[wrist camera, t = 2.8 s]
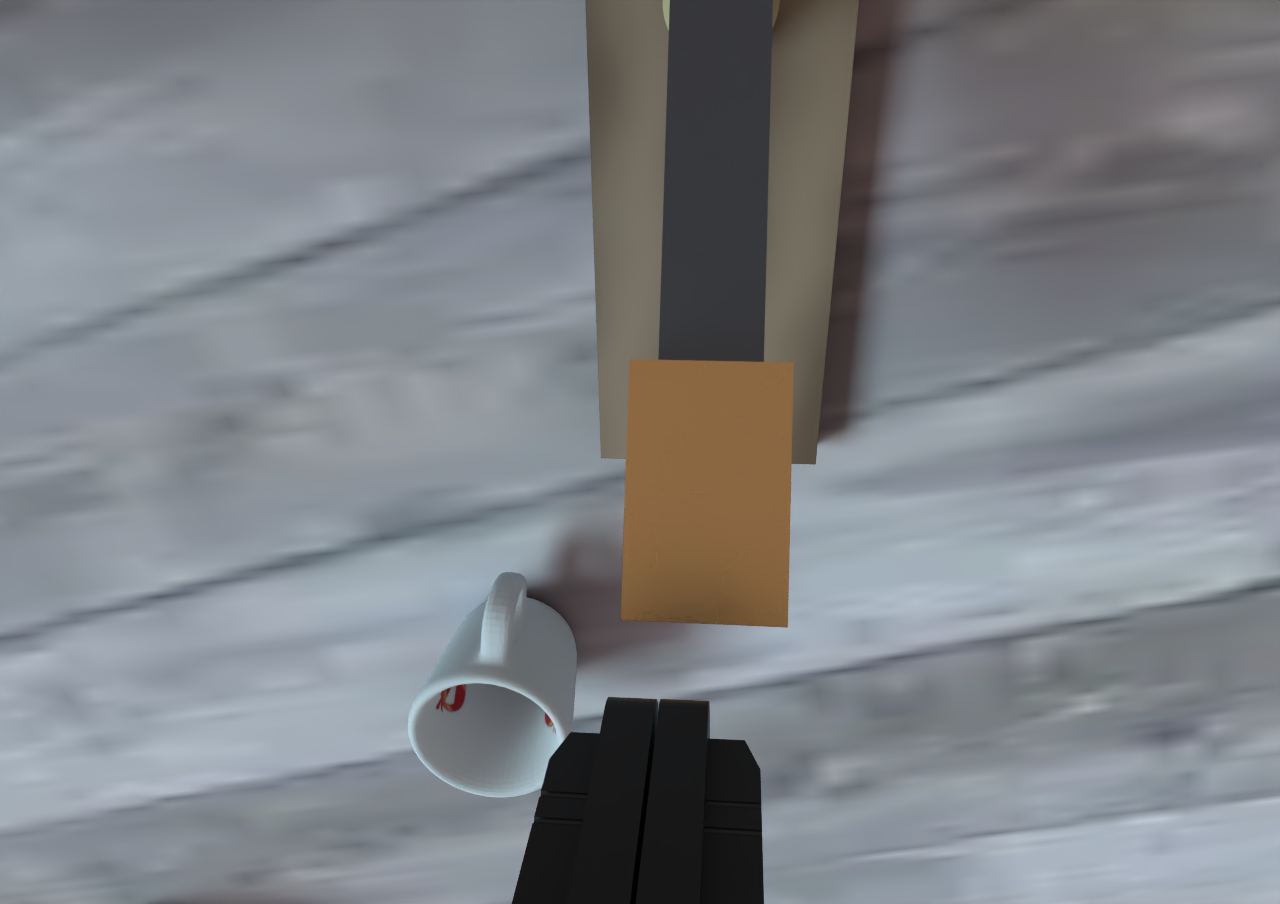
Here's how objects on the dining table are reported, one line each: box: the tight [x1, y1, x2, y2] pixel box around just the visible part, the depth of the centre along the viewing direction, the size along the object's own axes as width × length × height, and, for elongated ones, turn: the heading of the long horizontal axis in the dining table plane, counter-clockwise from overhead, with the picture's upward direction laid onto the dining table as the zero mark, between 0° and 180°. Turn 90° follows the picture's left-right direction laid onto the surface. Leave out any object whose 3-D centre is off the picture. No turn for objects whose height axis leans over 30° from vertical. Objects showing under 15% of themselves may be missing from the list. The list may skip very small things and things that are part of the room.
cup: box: [408, 572, 577, 797], centre depth 44 cm, size 11×8×8 cm
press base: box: [586, 0, 859, 464], centre depth 32 cm, size 10×26×8 cm, turn 1°
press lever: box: [621, 0, 794, 627], centre depth 25 cm, size 4×24×3 cm, turn 1°
